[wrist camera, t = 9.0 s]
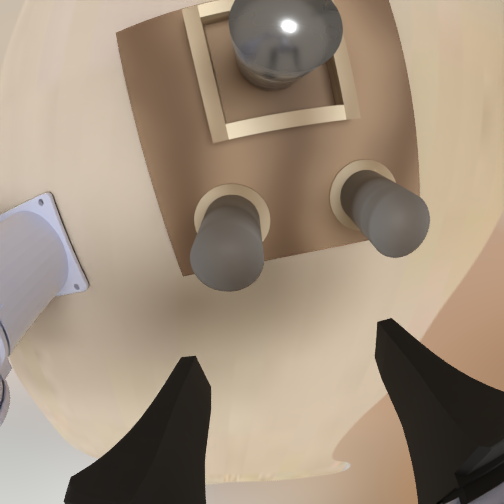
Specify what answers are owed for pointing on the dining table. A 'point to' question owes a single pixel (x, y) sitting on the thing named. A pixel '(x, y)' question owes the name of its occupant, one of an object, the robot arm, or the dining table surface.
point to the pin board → (274, 144)
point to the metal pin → (283, 39)
